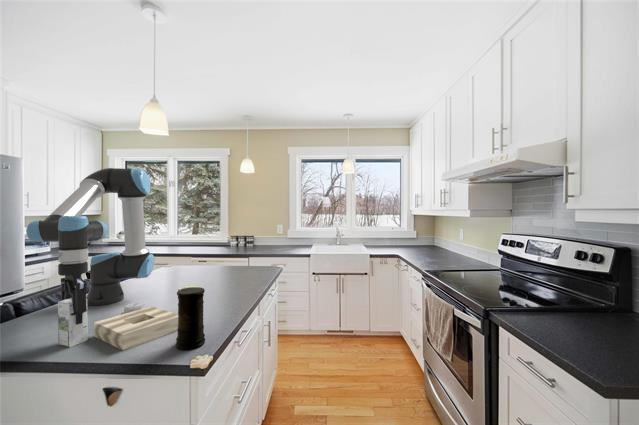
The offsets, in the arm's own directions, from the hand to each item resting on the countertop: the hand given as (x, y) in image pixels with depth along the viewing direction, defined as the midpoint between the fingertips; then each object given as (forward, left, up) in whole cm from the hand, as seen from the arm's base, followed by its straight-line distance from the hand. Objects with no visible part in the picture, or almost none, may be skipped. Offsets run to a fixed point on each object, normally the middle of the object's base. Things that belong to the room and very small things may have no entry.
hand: (73, 330), depth 97 cm
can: (+9, +37, -4) cm, 38 cm away
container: (+34, +20, -4) cm, 40 cm away
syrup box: (0, 0, -4) cm, 4 cm away
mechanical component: (-11, +25, -4) cm, 27 cm away
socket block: (+10, +16, -4) cm, 19 cm away
